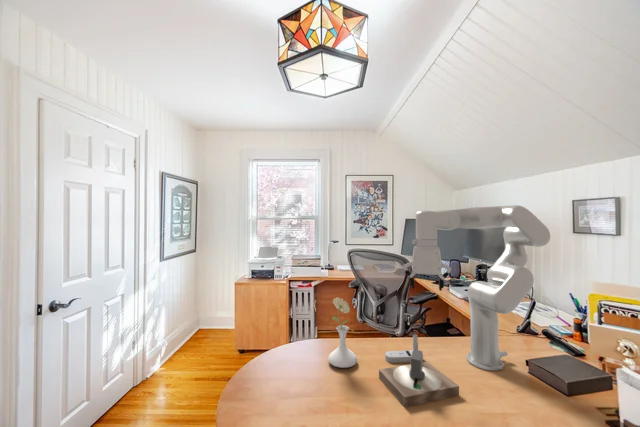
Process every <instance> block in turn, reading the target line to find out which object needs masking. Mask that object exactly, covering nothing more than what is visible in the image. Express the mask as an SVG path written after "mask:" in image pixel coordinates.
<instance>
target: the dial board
mask: <svg viewBox="0 0 640 427" xmlns="http://www.w3.org/2000/svg"><path fill="white" fill-rule="evenodd" d="M409 370H411V363H410V364H404V365H398V366H393V367H386V368H380V369H379V370H378V378H379V380H380V381H381V382H382V383H383V384H384V385H385V386H386V387H387V389H388V390H389V391H390V392H391V393H392V395H393V396H394V397H395V398H396V400H398V402H399V403H400V404H401V405H402V406H403V407H404V408H407V407H412V406H417V405H420V404H426V403H430V402H436V401H439V400H444V399H449V398H453V397H458V396H460V385H458V384H457V383H455V382H454V381H453V379H451V378H449V377H448V376H447V375H446V374H444V373H443V372H441V371H440V370H439V369H437V368H436V367H435V366H434V365H432V364H431V363H430V362H428V361H423V369H422V371H423V372H424V373H425V379H424V380H417V385H416V387H413V385H414V379H412V378H411V377H410V376H409Z"/></svg>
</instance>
